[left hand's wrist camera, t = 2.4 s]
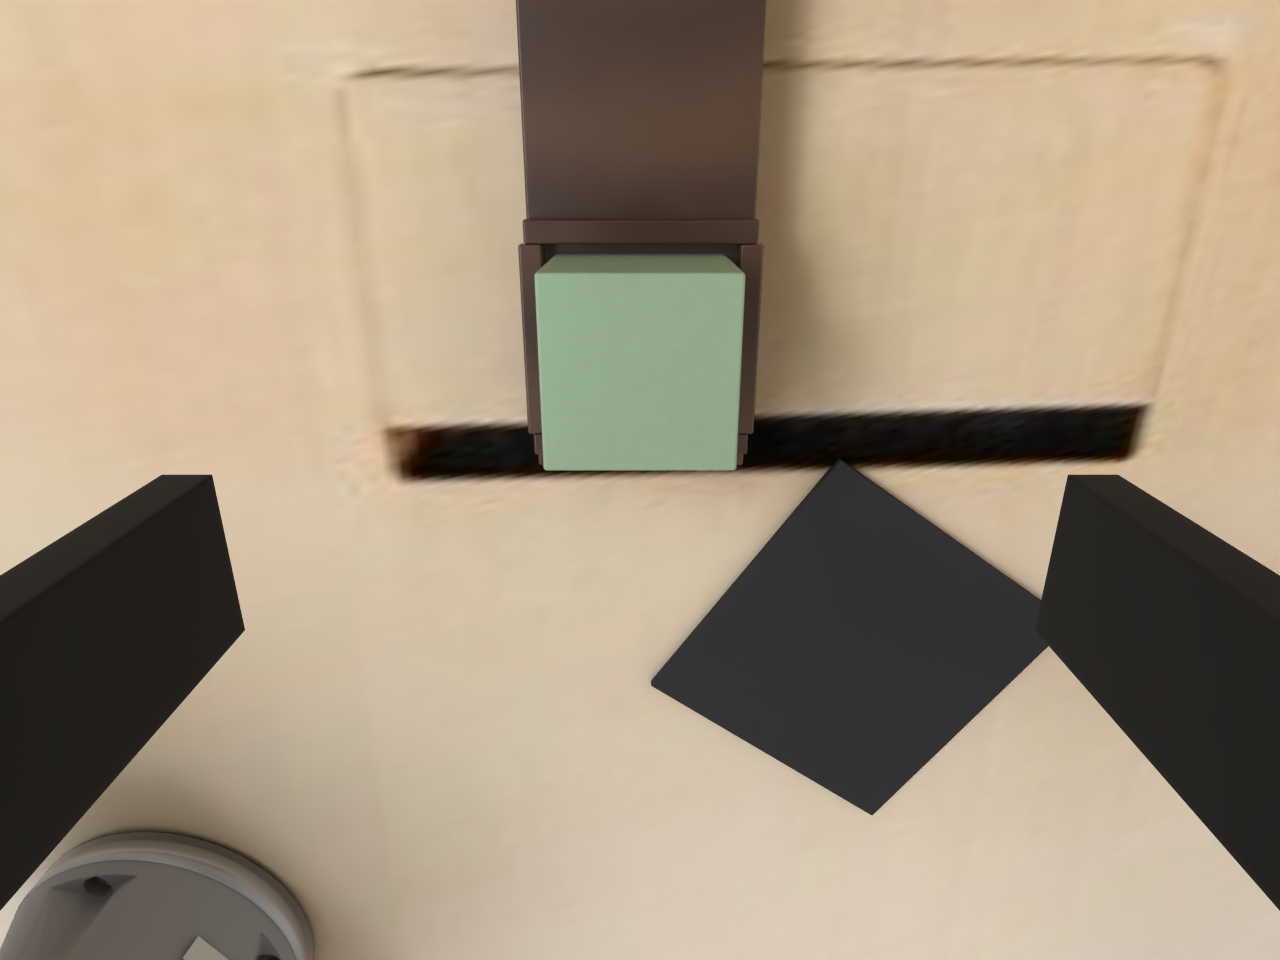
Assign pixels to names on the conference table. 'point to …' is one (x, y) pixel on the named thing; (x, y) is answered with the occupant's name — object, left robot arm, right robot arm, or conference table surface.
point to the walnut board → (641, 146)
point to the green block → (639, 361)
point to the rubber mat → (856, 642)
